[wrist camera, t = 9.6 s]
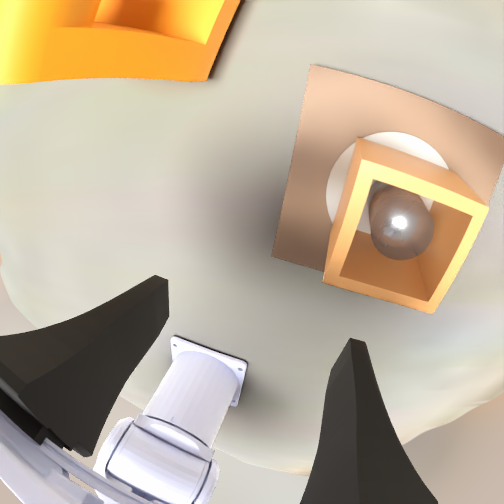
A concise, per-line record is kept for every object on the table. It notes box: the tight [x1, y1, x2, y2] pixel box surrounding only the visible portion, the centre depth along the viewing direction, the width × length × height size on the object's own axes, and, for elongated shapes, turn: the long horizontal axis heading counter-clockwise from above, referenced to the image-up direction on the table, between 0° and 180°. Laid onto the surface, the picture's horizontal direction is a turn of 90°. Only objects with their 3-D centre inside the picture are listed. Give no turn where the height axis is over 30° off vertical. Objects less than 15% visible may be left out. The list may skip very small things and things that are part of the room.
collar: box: [322, 137, 489, 314], centre depth 13 cm, size 6×6×5 cm
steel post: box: [367, 180, 434, 260], centre depth 14 cm, size 3×3×5 cm
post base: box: [271, 64, 504, 272], centre depth 16 cm, size 12×12×1 cm
